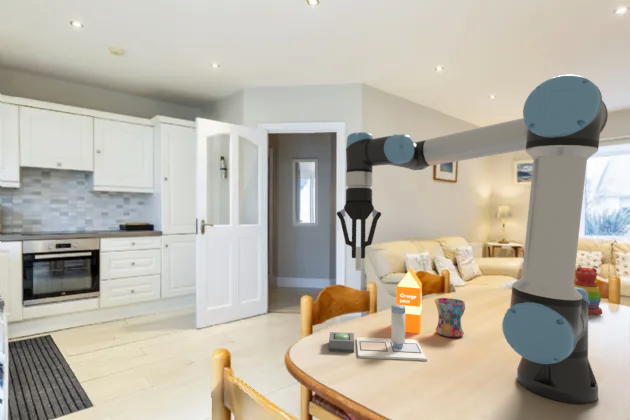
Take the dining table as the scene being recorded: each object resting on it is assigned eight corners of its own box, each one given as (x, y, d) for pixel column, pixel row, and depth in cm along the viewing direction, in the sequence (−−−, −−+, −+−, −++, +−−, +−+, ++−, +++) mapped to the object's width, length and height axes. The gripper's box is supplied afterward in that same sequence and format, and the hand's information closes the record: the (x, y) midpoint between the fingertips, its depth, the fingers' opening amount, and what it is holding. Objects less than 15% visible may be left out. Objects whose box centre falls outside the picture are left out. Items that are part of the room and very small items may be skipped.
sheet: (426, 360, 94) (426, 358, 94) (358, 357, 96) (358, 354, 96) (416, 341, 108) (416, 339, 108) (356, 339, 110) (356, 336, 110)
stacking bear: (601, 310, 146) (601, 267, 146) (604, 316, 137) (605, 270, 137) (568, 306, 151) (568, 264, 151) (570, 312, 143) (570, 267, 143)
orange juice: (395, 330, 118) (396, 270, 118) (398, 322, 126) (399, 266, 127) (420, 333, 116) (420, 271, 116) (422, 325, 124) (422, 267, 124)
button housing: (354, 352, 99) (354, 341, 99) (328, 351, 100) (329, 340, 100) (353, 343, 106) (353, 333, 106) (330, 342, 107) (330, 332, 107)
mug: (452, 341, 109) (452, 306, 109) (428, 332, 117) (428, 299, 117) (476, 334, 115) (476, 301, 115) (452, 326, 123) (452, 295, 123)
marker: (406, 349, 100) (406, 308, 100) (392, 349, 100) (392, 308, 100) (403, 344, 104) (403, 304, 104) (390, 344, 104) (390, 304, 104)
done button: (348, 345, 101) (348, 338, 101) (334, 344, 101) (334, 337, 101) (348, 340, 105) (348, 333, 105) (335, 339, 105) (335, 332, 105)
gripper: (380, 188, 106) (379, 268, 106) (336, 188, 107) (335, 267, 107) (383, 186, 99) (382, 272, 99) (335, 186, 100) (335, 271, 100)
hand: (358, 269), depth 103 cm, fingers closed
